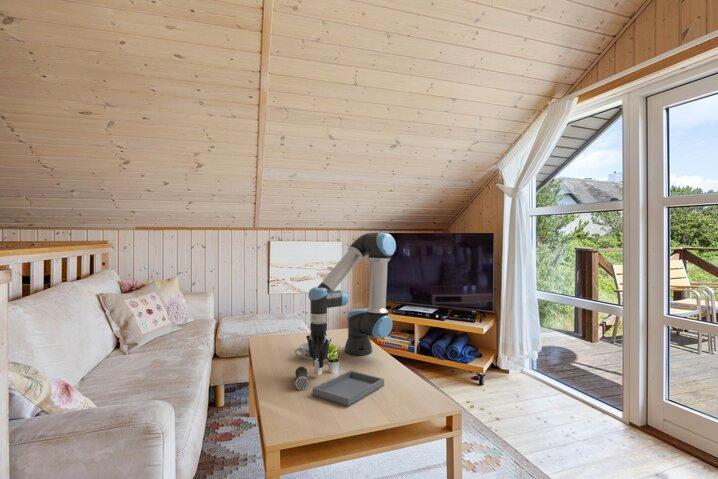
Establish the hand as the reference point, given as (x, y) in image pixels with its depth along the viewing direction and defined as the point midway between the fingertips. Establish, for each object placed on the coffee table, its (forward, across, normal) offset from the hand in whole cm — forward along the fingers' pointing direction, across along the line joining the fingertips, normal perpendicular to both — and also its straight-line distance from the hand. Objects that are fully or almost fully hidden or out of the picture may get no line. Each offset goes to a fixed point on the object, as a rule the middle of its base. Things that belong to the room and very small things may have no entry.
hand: (318, 374), depth 172 cm
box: (+2, +20, -3) cm, 20 cm away
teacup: (+2, -21, +17) cm, 27 cm away
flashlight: (-5, -4, -3) cm, 7 cm away
